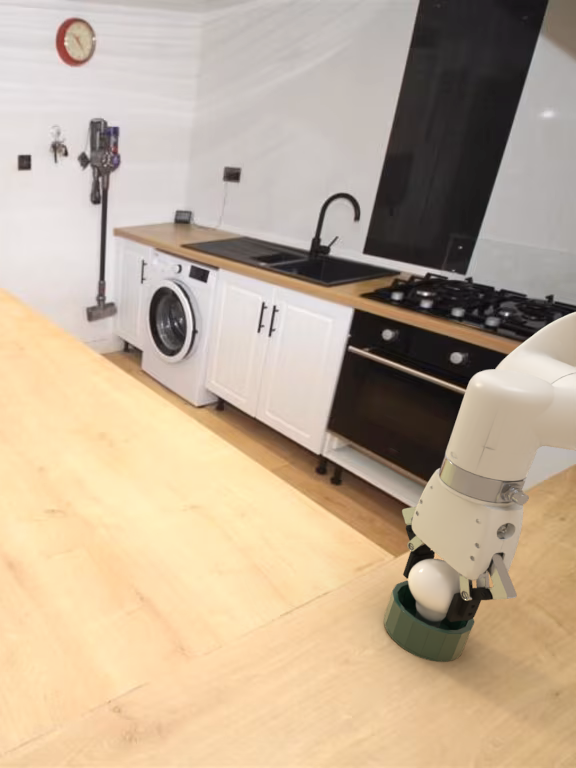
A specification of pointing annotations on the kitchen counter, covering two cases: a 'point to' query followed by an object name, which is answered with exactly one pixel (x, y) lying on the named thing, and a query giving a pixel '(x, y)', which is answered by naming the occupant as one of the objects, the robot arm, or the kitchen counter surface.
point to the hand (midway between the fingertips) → (436, 595)
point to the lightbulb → (433, 589)
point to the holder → (423, 629)
